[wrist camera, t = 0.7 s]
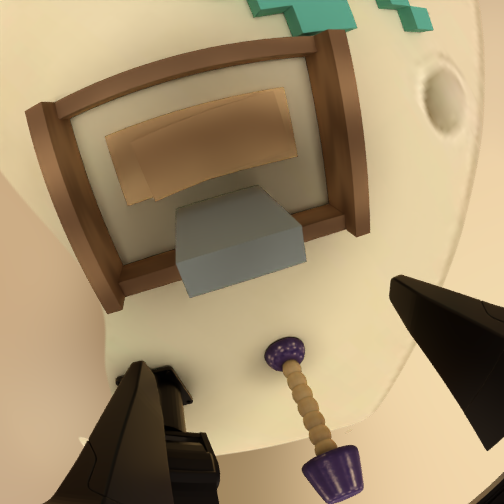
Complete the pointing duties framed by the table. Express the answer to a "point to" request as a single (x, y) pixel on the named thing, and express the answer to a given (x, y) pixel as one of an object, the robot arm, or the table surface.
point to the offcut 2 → (211, 144)
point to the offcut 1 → (120, 140)
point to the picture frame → (311, 47)
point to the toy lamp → (317, 430)
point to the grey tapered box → (235, 240)
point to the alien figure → (334, 14)
